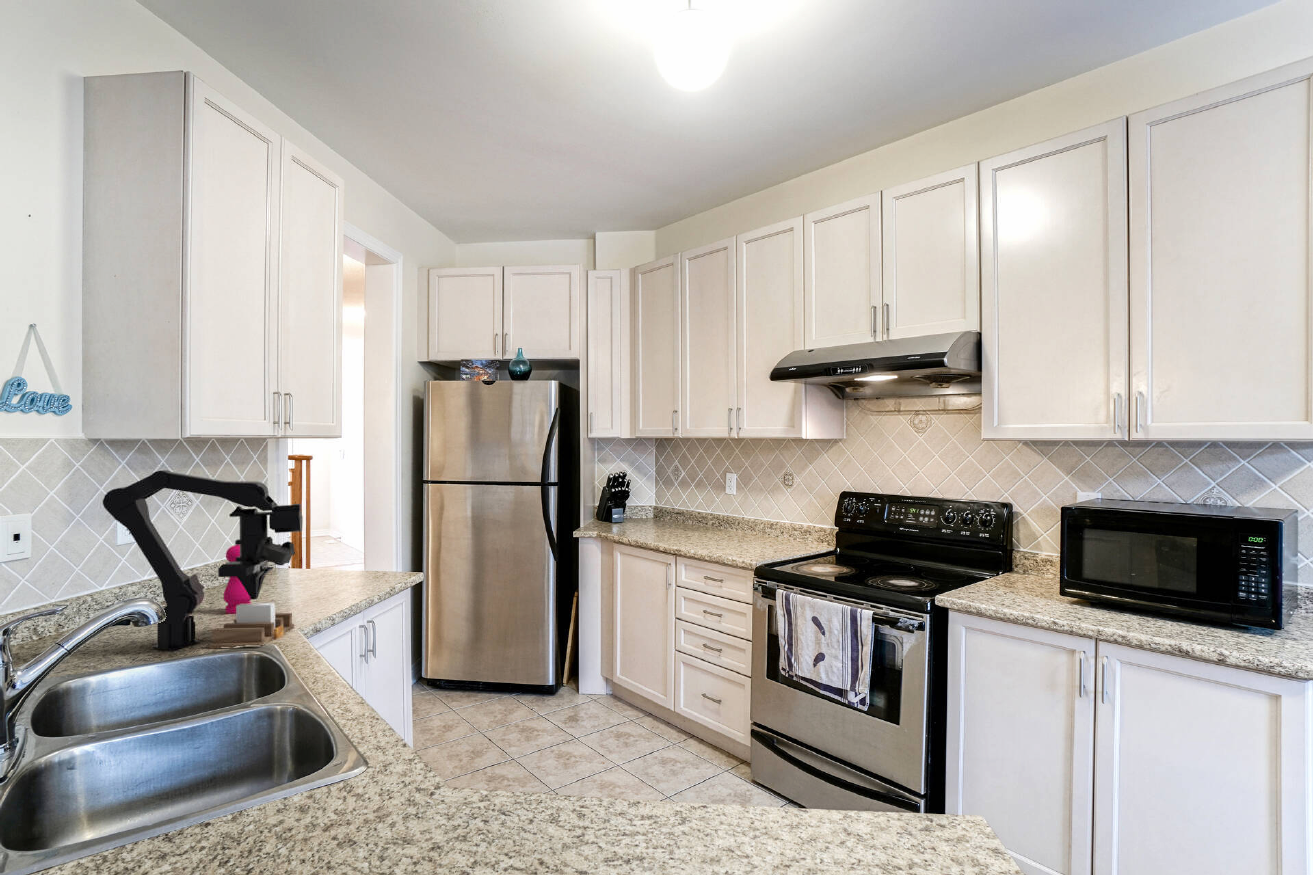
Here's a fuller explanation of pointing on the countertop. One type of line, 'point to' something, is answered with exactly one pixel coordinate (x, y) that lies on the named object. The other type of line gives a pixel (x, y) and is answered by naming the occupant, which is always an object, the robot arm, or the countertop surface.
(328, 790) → the countertop surface
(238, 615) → the panel
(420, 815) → the countertop surface
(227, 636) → the rack
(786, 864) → the countertop surface
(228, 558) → the pepper mill
